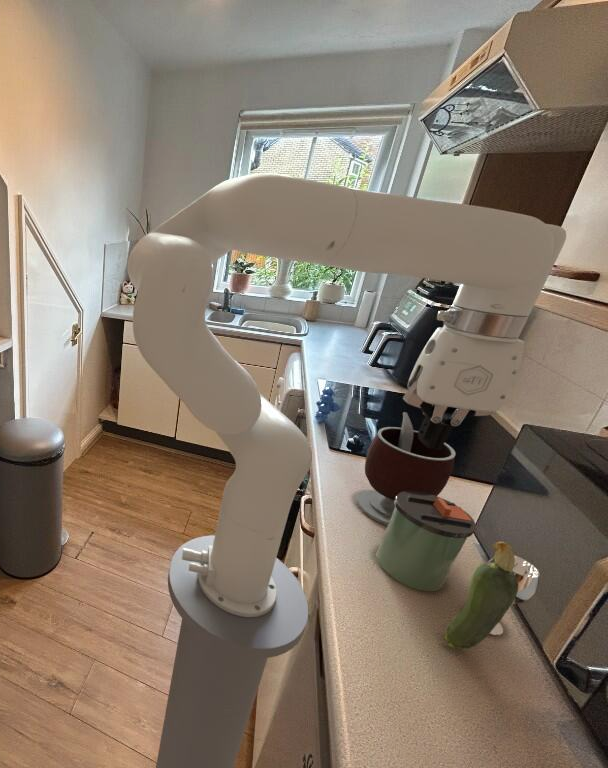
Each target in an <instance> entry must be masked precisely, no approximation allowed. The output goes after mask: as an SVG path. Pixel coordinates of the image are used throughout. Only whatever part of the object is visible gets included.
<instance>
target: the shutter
mask: <svg viewBox="0 0 608 768" xmlns="http://www.w3.org/2000/svg"><path fill="white" fill-rule="evenodd" d="M441 498H442V497H440V498H437V499H436V502H435V503H433V505H434V506H435V507H436V509H437V510H438V511H439V512H440V514H441V515H442V516H443V517H448V518H454V519H459V520H465V521H470V522H471V523H472V520H471V518H470V517H469V516H468V515H467V514H466V513H467V512H466V511H465V510H464V509H463V508H462V507H461V506H458V505H456V506H452V505H447V504H446V502H445V501H444V500H443V499H444V498H443V499H441ZM464 511H465V512H466V513H465V512H464Z"/></svg>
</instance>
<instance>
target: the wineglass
mask: <svg viewBox="0 0 608 768" xmlns="http://www.w3.org/2000/svg"><path fill="white" fill-rule="evenodd" d="M514 557H515V564H514V568H513V571H512V572H513V573H514V575H515V577H516V579H517V581H518V592H517V595H516V597H515V599H514V601H513V602H512V604H511V605H513V606H514V605H516V606H518V605H525V604H527V603H529V602H530V601H531V600H532V599H534V597H535V595H536V593H537V591H538V587H539V582H540V575H541V574H540V571H539V569H538V568H537V567H535V565H533V564H532V563H531V562H529V561H528V560H526V559H524V558H522V557H520V556H518V555H515V554H514ZM486 563H495V560H494V556H492V558H490V559H489V560H488V561H487V562H486ZM503 634H504V628H503V626H502V625H501V623H500V622H499V623H498V624H497V625H496V626H495V627H494V629H493V630H492V631H491V632H490V634H489V635H493V636H501V635H503Z"/></svg>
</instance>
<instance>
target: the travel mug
mask: <svg viewBox="0 0 608 768" xmlns="http://www.w3.org/2000/svg"><path fill="white" fill-rule="evenodd" d="M437 498H441V499H443V500H444V501H445V502H446V504H447V505H452V506H457V504H456V503H455V502H451V501H449V500H447V499H445V498H443V497H440V496H439V495H438V496H435V495H432V494H428V493H424V492H419V491H403V492H400V493H398V494H397V496H396V498H395V501H394V504H395V508H394V511H393V513H392V516H391V518H390V521H389V523H388V525H386V527H385V530H384V533H383V535H382V537H381V538H382V539H381V540H380V543H379V545H378V548H377V551H376V553H375V557H376V560H377V561H376V562H377V563H378V564H379V566H380V567H381V568H382V570H384V572H385V573H387V574H388V576H390V577H392V578H393V579H394V580H396V581H397V582H399V583H401V584H403V585H405V586H407V587H410V588H412V589H415V590H419V591H423V592H436V591H439V590H440V589H442V587H443V586H444V585H445V582H446V580H447V578H448V576H449V574H450V573H451V571H452V568H453V566H454V564H455V562H456V561H457V559H458V556H459V555H460V553H461V550H462V548H463V547H464V544H465V543H466V541H467V539H468V538H469V537H471V536H473V534H474V533H475V531H476V529H477V524H476V522H475V520H474V519H473V517H472V516H471V515H470V514H469V513H468V512H467V511H466V510H464V512H465V513H466V514H467V515H468V516H469V517H470V518H471V520H472V523H471V522H470V521H465V520H459V519H454V518H448V517H443V516H442V515H441V514H440V512H439V511H438V510H437V509H436V507H435V506H434V505H433V503H435V502H436V499H437Z"/></svg>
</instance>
